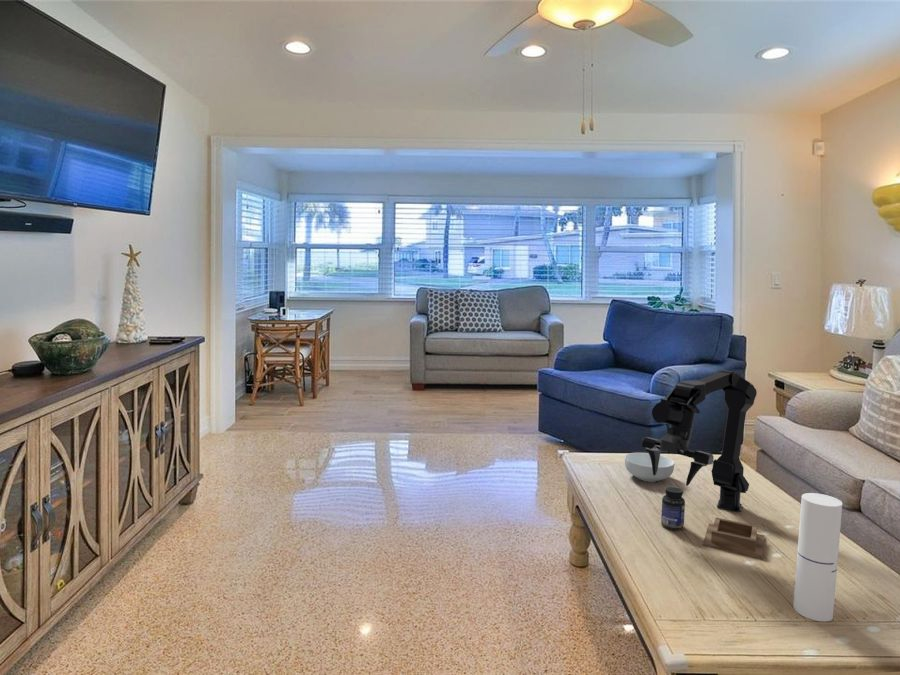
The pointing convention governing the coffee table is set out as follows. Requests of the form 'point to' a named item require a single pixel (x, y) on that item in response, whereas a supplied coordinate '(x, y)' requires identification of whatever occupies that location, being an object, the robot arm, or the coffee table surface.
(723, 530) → the walnut holder
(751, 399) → the robot arm
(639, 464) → the cereal bowl
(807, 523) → the cylindrical container
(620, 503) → the coffee table surface
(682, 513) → the pill bottle
